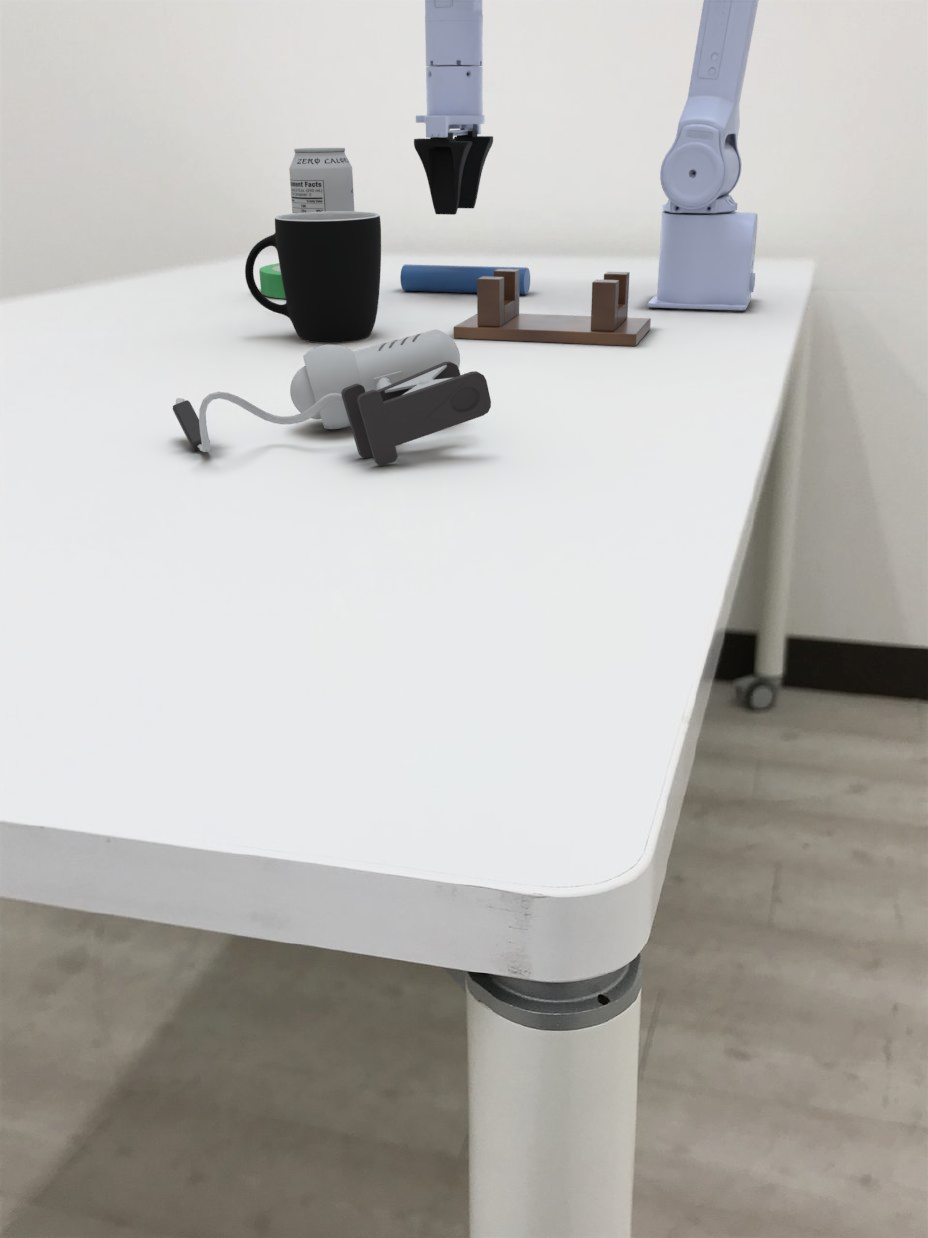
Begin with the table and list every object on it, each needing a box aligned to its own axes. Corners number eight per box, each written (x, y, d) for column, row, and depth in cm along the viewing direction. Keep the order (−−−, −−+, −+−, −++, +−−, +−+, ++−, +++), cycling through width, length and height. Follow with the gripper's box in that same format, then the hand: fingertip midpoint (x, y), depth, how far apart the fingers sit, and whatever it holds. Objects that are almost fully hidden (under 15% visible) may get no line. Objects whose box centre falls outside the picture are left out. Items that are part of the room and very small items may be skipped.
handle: (530, 292, 120) (530, 265, 119) (523, 296, 118) (524, 268, 117) (409, 288, 124) (408, 262, 123) (400, 292, 122) (399, 265, 121)
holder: (650, 329, 99) (653, 271, 97) (635, 346, 92) (639, 284, 90) (479, 322, 104) (479, 267, 102) (453, 338, 97) (452, 278, 95)
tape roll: (355, 298, 118) (354, 272, 117) (252, 299, 118) (250, 274, 117) (365, 284, 128) (364, 259, 127) (270, 285, 128) (268, 261, 127)
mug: (390, 327, 102) (386, 210, 98) (379, 345, 94) (373, 219, 90) (262, 327, 103) (252, 211, 98) (239, 346, 95) (227, 220, 90)
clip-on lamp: (193, 528, 62) (502, 440, 62) (151, 424, 58) (478, 332, 59) (196, 452, 72) (463, 376, 72) (161, 358, 68) (441, 281, 69)
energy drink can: (370, 310, 111) (362, 147, 105) (316, 316, 108) (305, 149, 102) (341, 302, 116) (332, 146, 109) (289, 308, 113) (277, 148, 106)
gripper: (435, 69, 118) (437, 204, 124) (394, 65, 105) (398, 216, 111) (500, 68, 117) (499, 205, 122) (465, 64, 104) (466, 217, 110)
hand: (455, 210), depth 117 cm, fingers open, 7 cm apart
